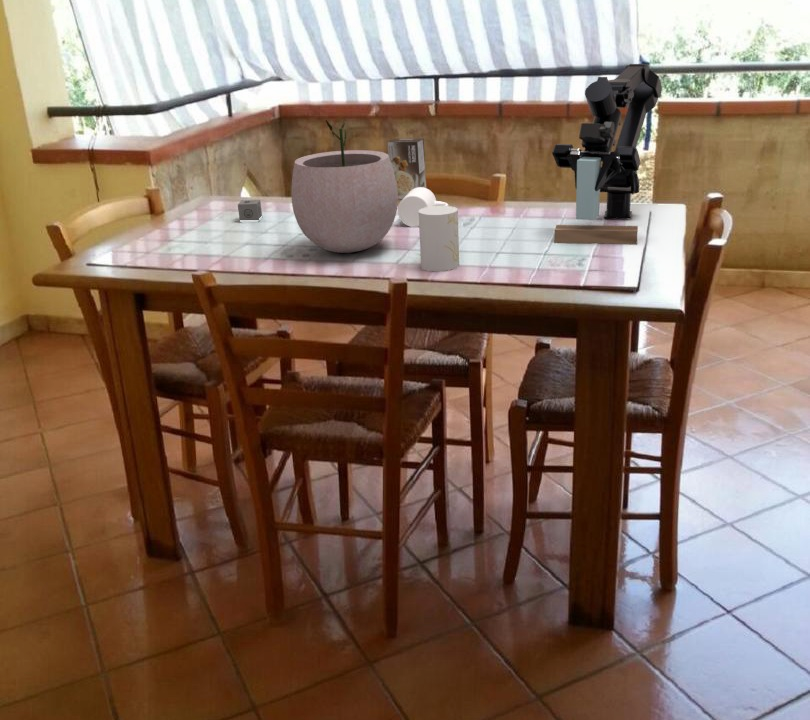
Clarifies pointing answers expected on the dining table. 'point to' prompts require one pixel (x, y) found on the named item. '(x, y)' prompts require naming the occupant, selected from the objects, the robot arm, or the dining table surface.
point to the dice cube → (249, 210)
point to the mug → (416, 205)
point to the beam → (596, 234)
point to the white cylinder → (439, 238)
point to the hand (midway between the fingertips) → (586, 189)
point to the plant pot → (344, 197)
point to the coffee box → (407, 164)
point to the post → (587, 188)
